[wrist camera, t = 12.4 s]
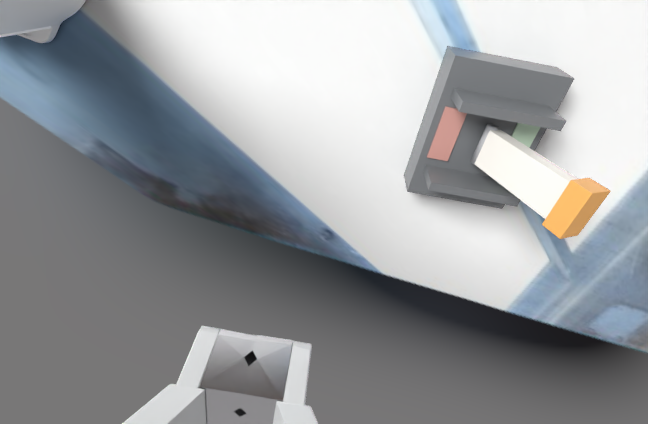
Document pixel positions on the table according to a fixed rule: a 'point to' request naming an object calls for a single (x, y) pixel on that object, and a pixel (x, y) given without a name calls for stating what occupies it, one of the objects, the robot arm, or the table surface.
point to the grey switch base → (481, 122)
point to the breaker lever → (539, 182)
